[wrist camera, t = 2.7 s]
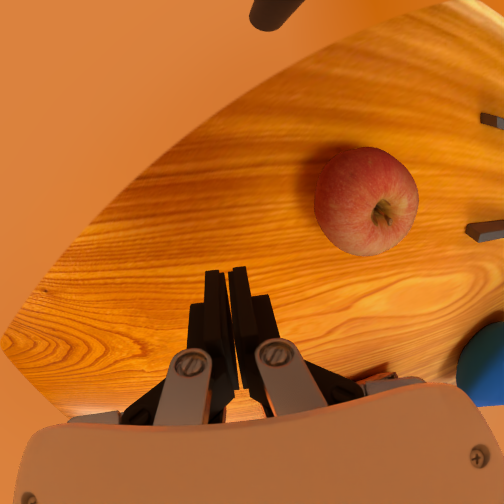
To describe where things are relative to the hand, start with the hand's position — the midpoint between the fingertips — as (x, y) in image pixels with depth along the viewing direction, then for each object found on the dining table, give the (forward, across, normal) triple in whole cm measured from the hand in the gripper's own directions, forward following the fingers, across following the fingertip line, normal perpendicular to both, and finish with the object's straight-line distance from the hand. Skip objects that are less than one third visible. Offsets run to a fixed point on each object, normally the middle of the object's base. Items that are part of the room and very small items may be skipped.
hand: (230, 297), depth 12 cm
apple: (+12, -10, 0) cm, 16 cm away
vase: (+12, -45, +31) cm, 56 cm away
